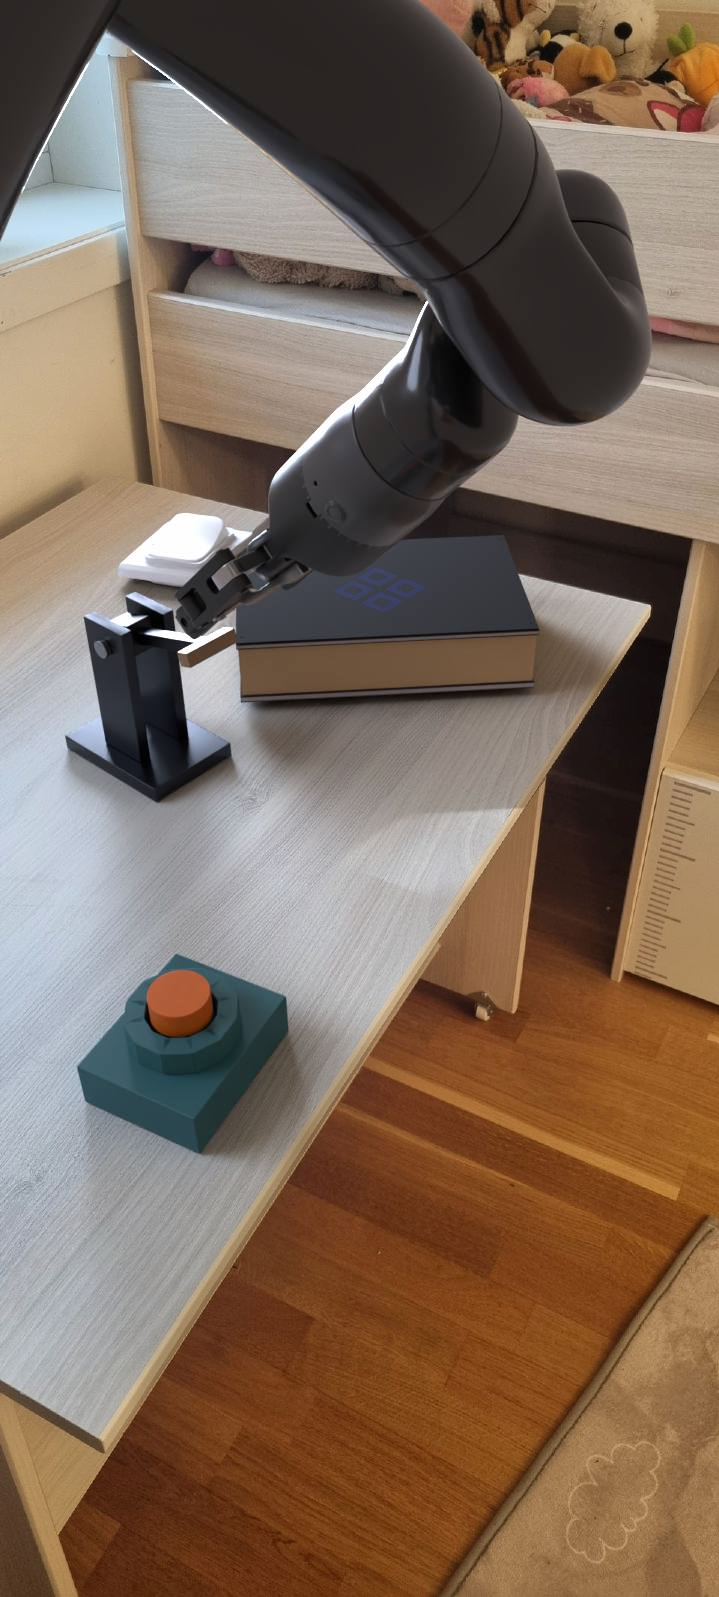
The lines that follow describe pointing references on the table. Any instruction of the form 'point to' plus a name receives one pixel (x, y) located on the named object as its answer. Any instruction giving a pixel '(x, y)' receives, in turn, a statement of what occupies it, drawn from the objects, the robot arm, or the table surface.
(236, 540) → the light switch
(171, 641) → the switch lever
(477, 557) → the book
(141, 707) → the black pivot stand
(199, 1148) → the orange push button box
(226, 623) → the table surface
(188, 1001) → the power button
